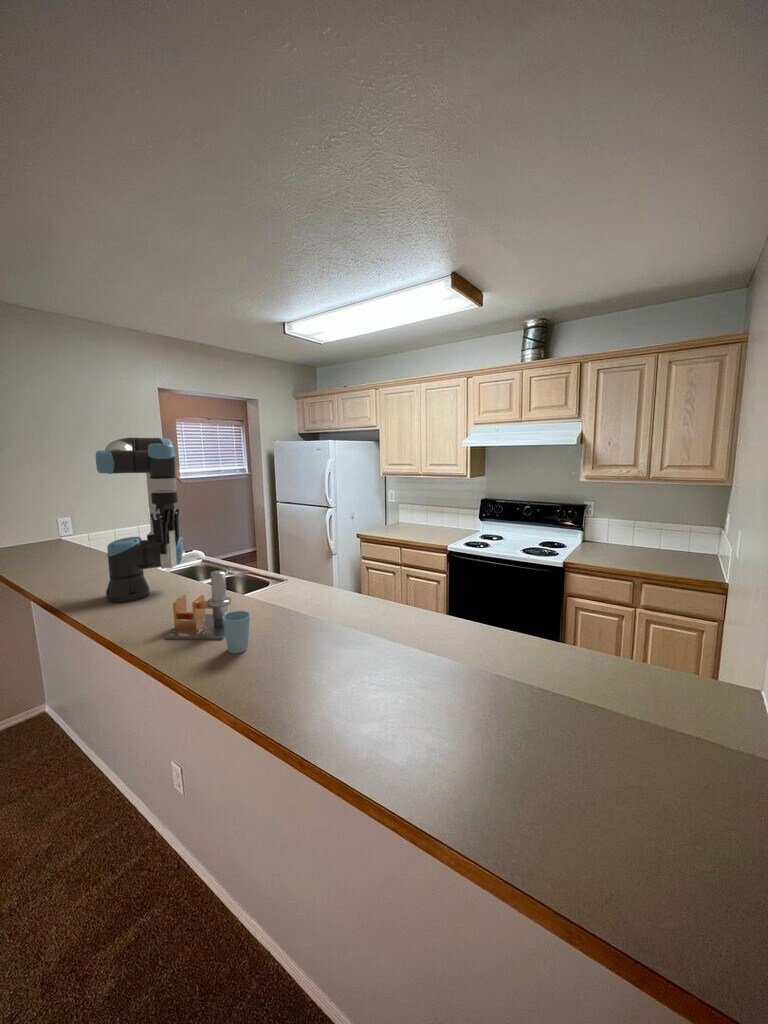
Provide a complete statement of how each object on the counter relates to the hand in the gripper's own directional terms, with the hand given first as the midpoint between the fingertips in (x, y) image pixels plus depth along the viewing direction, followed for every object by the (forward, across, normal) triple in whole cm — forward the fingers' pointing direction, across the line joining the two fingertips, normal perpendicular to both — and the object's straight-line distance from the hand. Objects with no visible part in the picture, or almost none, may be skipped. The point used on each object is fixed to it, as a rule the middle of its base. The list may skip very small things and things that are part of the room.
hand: (168, 561), depth 142 cm
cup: (+22, +18, +29) cm, 41 cm away
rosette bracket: (+22, +3, +13) cm, 25 cm away
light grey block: (+2, 0, 0) cm, 2 cm away
